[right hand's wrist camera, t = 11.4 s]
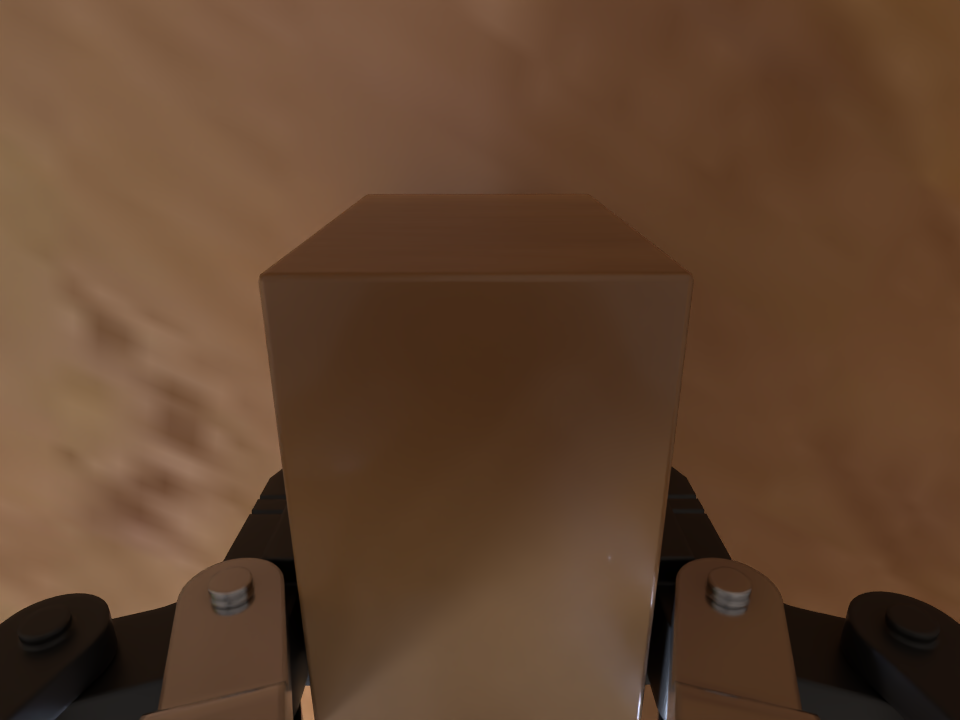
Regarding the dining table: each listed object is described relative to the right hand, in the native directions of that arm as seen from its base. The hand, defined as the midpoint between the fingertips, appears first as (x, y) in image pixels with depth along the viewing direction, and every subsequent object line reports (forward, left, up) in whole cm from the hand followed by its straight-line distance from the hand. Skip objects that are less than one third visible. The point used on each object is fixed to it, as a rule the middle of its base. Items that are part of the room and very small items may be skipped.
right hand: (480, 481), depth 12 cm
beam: (+10, -18, -2) cm, 20 cm away
